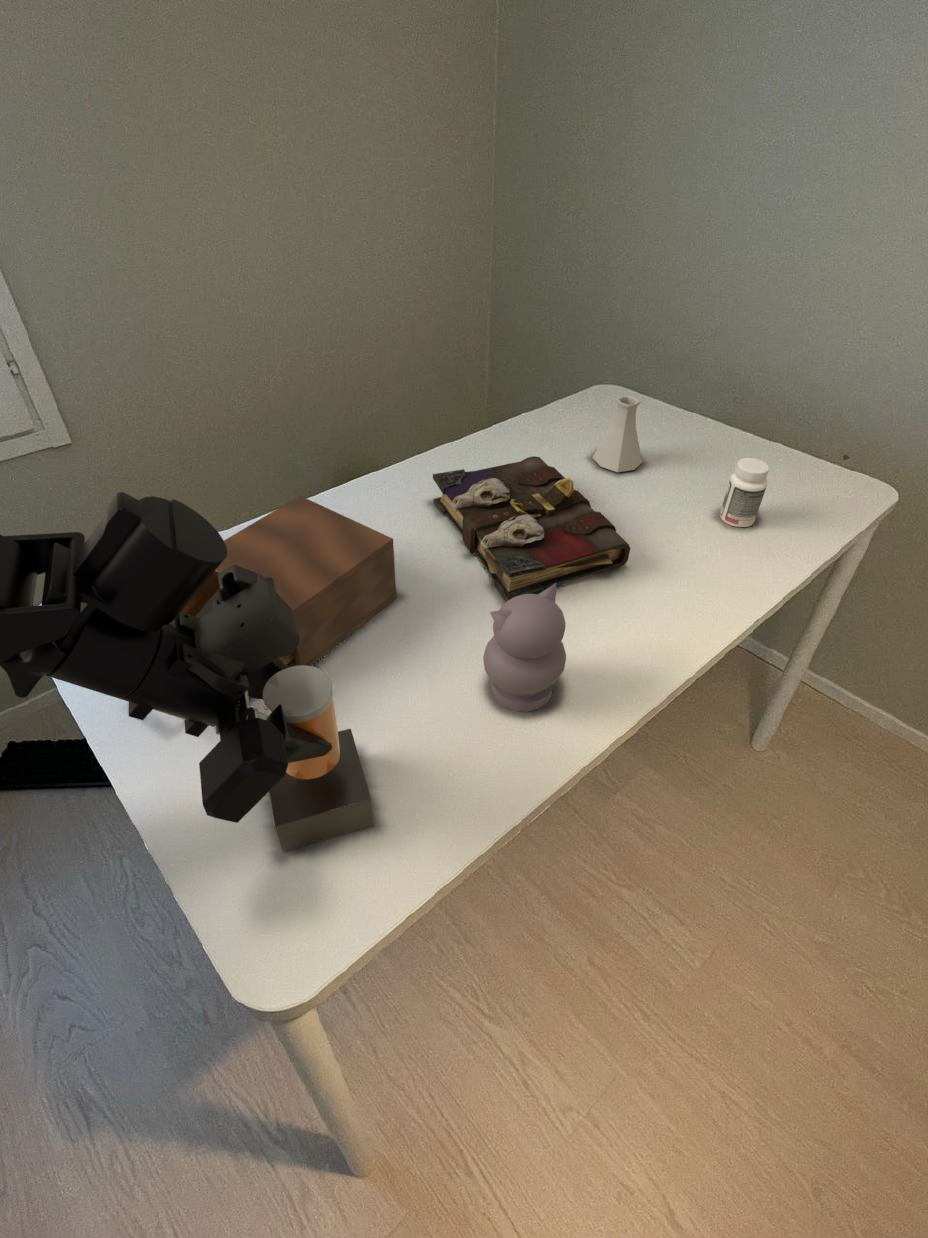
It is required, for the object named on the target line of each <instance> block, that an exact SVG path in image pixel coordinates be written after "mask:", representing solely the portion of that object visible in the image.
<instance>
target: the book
mask: <svg viewBox="0 0 928 1238" xmlns="http://www.w3.org/2000/svg"><path fill="white" fill-rule="evenodd" d="M432 480H433V481H434V483H435V484H436V486H437V487H438V489H439V490H440V492H441V493H442V494H441V496H440V497H436V498H433V499H432V502H433V505H434V506H435V507H436V508H437V509H438V510H439V511H440V513H441V514H442V515H445V516H446V517H447V519H448V520H449V521H450V523H452V525H453V526H454V527H455V528H456V529H457V531H459V533H460V534H461V535H462V541H463V543H464V545H465V547H466V549H467V550H468V552H469V553H470V554H473V555H474V554H475V555H476V556H477V558H478V559H479V561H480V562H481V563H482V565H483V566H484V568H485V570H486V571H487V573H488V574H489V576H490V577H491V579H492V580H493V583H494V586H495V587H496V589H497V591H498V592H499V594H500V595H501V597H502V599H503V600H504V603H506V602H507V601H509V600H510V599H512V598H514V597H516V596H519V595H523V594H540V593H541V592H543V591H544V590H545V588H546V589H547V588H549V587H551V586H552V585H554V584H555V583H557V585H559V584H561V583H565V582H569V581H573V580H575V579H580V578H581V577H582V578H583V577H586V576H590V575H593V574H597V573H600V572H604V571H609V572H610V571H614V570H618V569H620V568H622V567H623V566H625V565H626V563H627V562H628V561H629V557H630V552H631V547H630V546H631V545H630V544H629V543H628V542H627V541H626V540H625V539H624V538H623V537H622V536H621V535H620V534H619V533H618V532H617V528H616V526H615V525H614V524H613V523H612V522H611V521H610V520H609V519H608V518H607V517H606V516H605V515H604V514H602V513H601V512H600V511H595V510H594V509H593V508H592V505H591V502H590V501H589V500H588V499H587V497H585V495H583V494H582V493H581V492H579V490H577V489H574V480H572V479H571V478H570V477H566V478H565V476H563V474H562V473H561V472H560V471H558V469H556V468H555V467H554V466H551V465H548V463H546V462H545V461H544V460H543V459H542V458H541V457H540V456H536V455H533V456H529V457H526V458H524V459H522V460H520V461H516V462H511V463H507V464H500V465H497V466H491V467H486V468H481V469H477V470H471V471H470V470H469V471H465V468H463V469H462V468H461V469H456V470H449V471H445V472H444V471H443V472H438V473H432Z"/></svg>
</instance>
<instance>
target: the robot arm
mask: <svg viewBox="0 0 928 1238" xmlns="http://www.w3.org/2000/svg"><path fill="white" fill-rule="evenodd" d="M224 540H225V539H224V538H223V536H221V534H220V533H219V531H218V530H217V529H216V528H215V527H214V526H213V525H212V524H211V522H209V521H208V520H207V519H206V518H205V517H204V516H202V515H201V514H200V513H199V512H197V511H196V510H194V509H193V508H191V507H190V506H188V505H187V504H185V503H183V502H182V501H179V500H176V499H174V498H173V499H171V500H169V499H166V498H162V497H159V496H144V497H142V498H140V499H137V498H136V497H135V496H132V495H130V494H128V493H126V492H124V491H120V492H116V494H115V495H114V497H113V498H112V499H111V501H110V502H109V503H108V505H107V507H106V509H105V511H104V513H103V517H102V519H101V521H100V522H99V523H98V524H97V526H96V527H95V528H94V530H93V531H92V533H91V534H90V535H89V536H88V538H87V539H86V537H85V535H84V534H83V533H82V532H79V531H69V532H55V533H54V532H52V533H34V534H16V535H3V534H0V668H1V669H2V670H3V671H4V672H5V673H6V675H7V677H8V679H9V681H10V685H11V687H12V690H13V694H14V695H15V697H17V698H20V699H25V698H27V697H28V696H30V694H31V693H32V692H33V691H34V689H35V687H37V685H38V684H39V683H40V681H42V679H43V678H44V677H45V676H47V677H49V678H52V679H56V680H58V681H62V682H64V683H69V684H72V685H75V686H76V687H77V686H78V687H81V688H83V689H88V690H90V691H93V692H98V693H100V694H103V695H106V696H110V697H113V698H116V699H118V700H122V701H124V702H128V717H130V718H133V719H137V720H140V721H144V720H145V719H146V718H147V717H148V716H149V714H150V713H152V711H157V712H160V713H163V714H166V715H169V716H173V717H176V718H178V719H182V720H183V721H184V734H186V735H189V736H193V737H196V738H199V737H200V736H201V735H202V734H203V733H204V732H205V731H206V730H207V728H208V727H209V726H210V727H215V733H216V735H218V736H219V741H218V742H217V744H215V746H214V747H213V748H212V749H210V751H209V752H208V753H207V754H206V755H205V756H204V757H203V758H202V759H201V760H200V761H199V763H198V764H199V777H200V790H201V799H202V800H201V801H202V802H201V803H202V806H203V809H204V811H205V813H206V816H208V817H211V818H214V819H218V820H223V821H226V822H231V823H235V824H238V823H239V822H240V821H241V820H242V819H243V818H244V817H245V816H246V815H247V814H248V813H249V812H250V811H251V810H252V809H253V808H254V807H255V806H256V805H258V803H259V802H260V801H261V800H262V799H264V797H265V796H266V795H267V794H269V791H270V790H271V789H272V788H273V787H274V786H275V785H276V784H277V783H278V782H279V781H280V780H281V779H282V778H283V777H284V776H285V773H286V770H287V767H288V763H291V762H296V761H301V760H306V759H311V758H315V757H320V756H324V755H326V754H327V753H328V752H329V751H330V750H331V749H332V748H333V747H332V744H331V743H330V742H328V741H326V740H325V739H323V738H321V737H319V736H317V735H315V734H312V733H310V732H308V731H306V730H303V729H301V728H299V727H296V726H294V725H292V724H290V723H287V722H286V720H285V716H284V712H283V707H282V705H281V704H279V705H278V706H277V707H276V709H275V710H274V711H273V712H272V713H271V714H270V715H268V713H267V714H266V713H263V712H261V711H259V710H258V709H257V708H254V707H251V702H250V699H257V700H262V701H263V689H264V687H265V684H266V683H267V681H268V680H269V679H270V678H271V677H272V676H273V675H275V674H276V673H278V672H279V671H281V670H283V669H286V668H289V666H288V665H287V664H286V665H285V664H284V663H283V662H282V661H281V660H280V659H279V658H280V657H286V656H288V655H289V654H291V653H292V652H293V651H295V649H296V648H297V647H298V645H299V642H300V636H299V633H298V631H297V628H296V624H295V620H294V612H293V609H292V608H291V607H290V606H289V605H288V604H287V603H286V602H285V601H284V600H283V599H282V598H281V596H280V595H279V594H278V593H277V591H276V587H275V583H274V580H273V579H272V578H270V577H264V576H263V575H262V574H259V575H258V574H257V573H256V572H253V571H251V570H248V569H245V568H243V567H240V566H237V565H232V566H230V567H228V568H227V569H225V570H223V571H222V572H220V573H219V574H218V579H219V586H220V589H219V590H218V591H217V592H216V593H215V594H214V595H213V597H212V598H211V599H210V600H209V601H208V602H207V604H206V605H205V606H204V607H203V608H202V609H201V611H200V612H199V613H198V614H197V615H196V616H192V615H190V614H187V613H184V612H183V613H181V614H179V613H180V612H181V611H182V609H183V608H184V607H185V606H186V605H187V603H188V602H189V601H190V600H191V599H192V597H193V596H194V595H195V594H196V593H197V592H198V590H199V589H200V588H201V587H202V586H203V584H204V583H205V582H206V581H207V580H208V578H209V577H210V576H211V575H212V574H213V572H214V571H215V570H216V569H217V568H218V566H219V565H220V564H221V563H222V562H223V560H224V559H225V558H226V556H227V547H226V545H225V543H224ZM42 574H44V580H43V587H42V588H43V589H42V596H41V597H42V598H41V604H39V605H34V602H35V594H36V589H37V588H36V587H37V580H38V576H39V575H42Z"/></svg>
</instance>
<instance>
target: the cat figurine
mask: <svg viewBox="0 0 928 1238" xmlns="http://www.w3.org/2000/svg"><path fill="white" fill-rule="evenodd" d="M557 585H558V584H557V583H555V584H554V585H552V586H549V587H547V588H546V589H544V590H543V592H541V593H539V594H523V595H519V596H516V597H514V598H512V599H510V600H509V601H507V602H504V603H503V604H502V606H500V608H498V610H493V611H489V613H490V615H491V617H492V620H493V622H492V631H493V632H492V633H493V636H492V637H491V638H490V639H489V641H488V642H487V644H486V646H485V648H484V652H483V655H482V659H483V665H484V671H485V673H486V675H487V677H488V678H489V679H490V681H491V682H490V684H491V686H490V688H491V694H492V695H493V698H495V700H496V702H497V703H499V704H500V705H501V706H502V707H504V708H507V709H509V710H511V711H515V712H522V713H524V712H525V713H526V712H533V711H536V710H538V709H541V708H542V707H544V706H545V705H547V704H548V702H549V701H550V699H551V697H552V692H553V685H554V683H556V682H557V681H558V679H559V678H560V677H561V675H562V674H563V673H564V670H565V668H566V667H565V666H566V662H567V652H566V649H565V645H564V643H563V642H562V640H563V639H564V636H565V632H566V624H567V623H566V619H565V615H564V613H563V610H562V609H561V608H560V606H559V605H558V604H557V603H556V597H557Z"/></svg>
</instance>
